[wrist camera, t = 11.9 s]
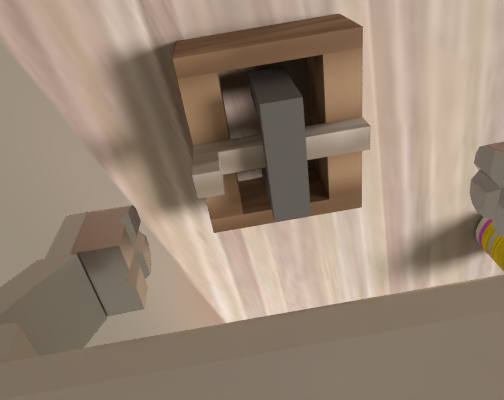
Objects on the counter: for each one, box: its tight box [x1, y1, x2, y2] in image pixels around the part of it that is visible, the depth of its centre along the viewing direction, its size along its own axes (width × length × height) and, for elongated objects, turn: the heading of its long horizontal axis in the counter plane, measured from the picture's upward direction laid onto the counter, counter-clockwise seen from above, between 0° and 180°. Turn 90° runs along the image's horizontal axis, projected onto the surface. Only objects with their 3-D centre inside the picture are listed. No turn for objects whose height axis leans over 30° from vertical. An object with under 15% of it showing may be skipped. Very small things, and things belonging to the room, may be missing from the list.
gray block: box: [248, 67, 311, 222], centre depth 35 cm, size 10×3×8 cm, turn 8°
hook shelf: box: [172, 14, 370, 233], centre depth 35 cm, size 16×14×11 cm
